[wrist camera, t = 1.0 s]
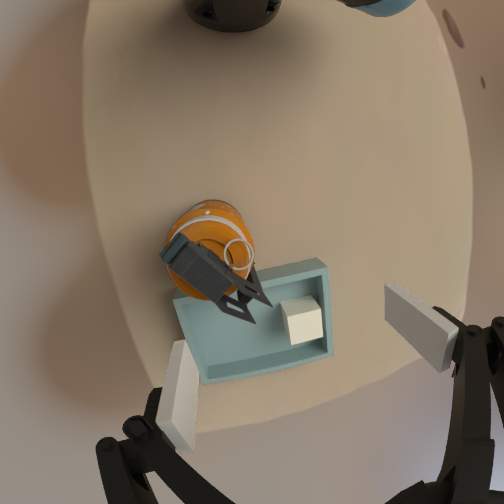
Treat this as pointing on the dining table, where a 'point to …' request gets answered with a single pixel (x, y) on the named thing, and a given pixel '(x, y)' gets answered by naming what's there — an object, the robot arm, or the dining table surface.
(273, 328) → the teal tray
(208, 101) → the dining table surface
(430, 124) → the dining table surface
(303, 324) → the cream cube
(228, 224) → the canister
